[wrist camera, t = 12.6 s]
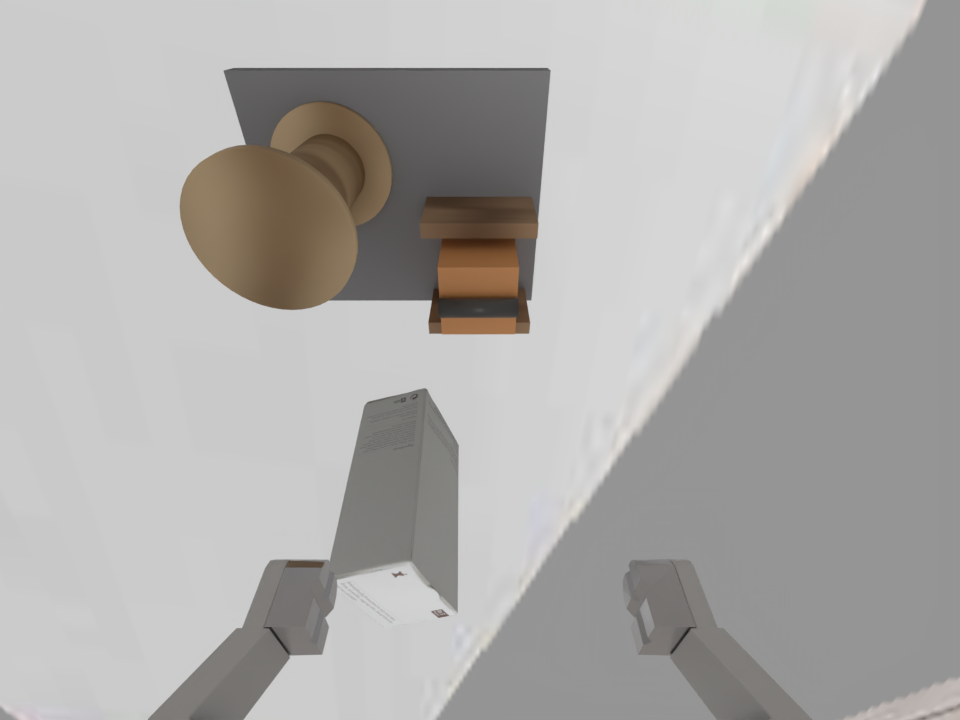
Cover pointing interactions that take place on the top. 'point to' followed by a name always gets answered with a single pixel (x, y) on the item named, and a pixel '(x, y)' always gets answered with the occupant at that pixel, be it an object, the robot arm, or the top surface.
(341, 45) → the top surface
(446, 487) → the skincare box
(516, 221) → the notch
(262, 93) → the board
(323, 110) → the bobbin
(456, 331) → the orange block
